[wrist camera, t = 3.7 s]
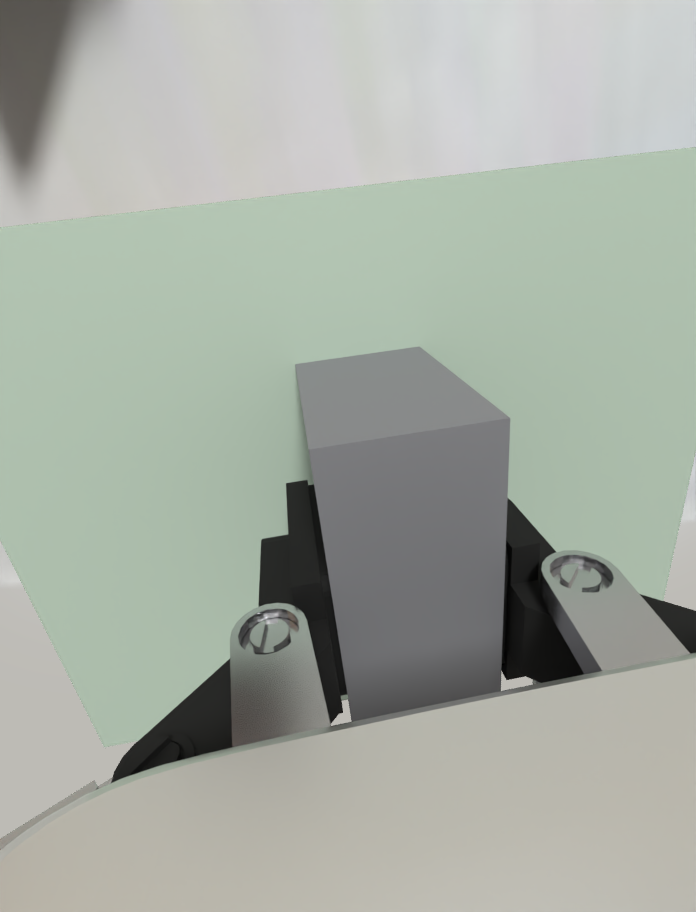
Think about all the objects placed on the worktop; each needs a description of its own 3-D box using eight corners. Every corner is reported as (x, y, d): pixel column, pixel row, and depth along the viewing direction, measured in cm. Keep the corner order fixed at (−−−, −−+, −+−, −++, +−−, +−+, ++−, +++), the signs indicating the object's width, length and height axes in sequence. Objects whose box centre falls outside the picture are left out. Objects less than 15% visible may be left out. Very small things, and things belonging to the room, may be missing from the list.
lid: (693, 152, 13) (1112, 72, 6) (619, 600, 19) (789, 782, 13) (-81, 242, 11) (-542, 256, 5) (121, 694, 18) (36, 953, 11)
